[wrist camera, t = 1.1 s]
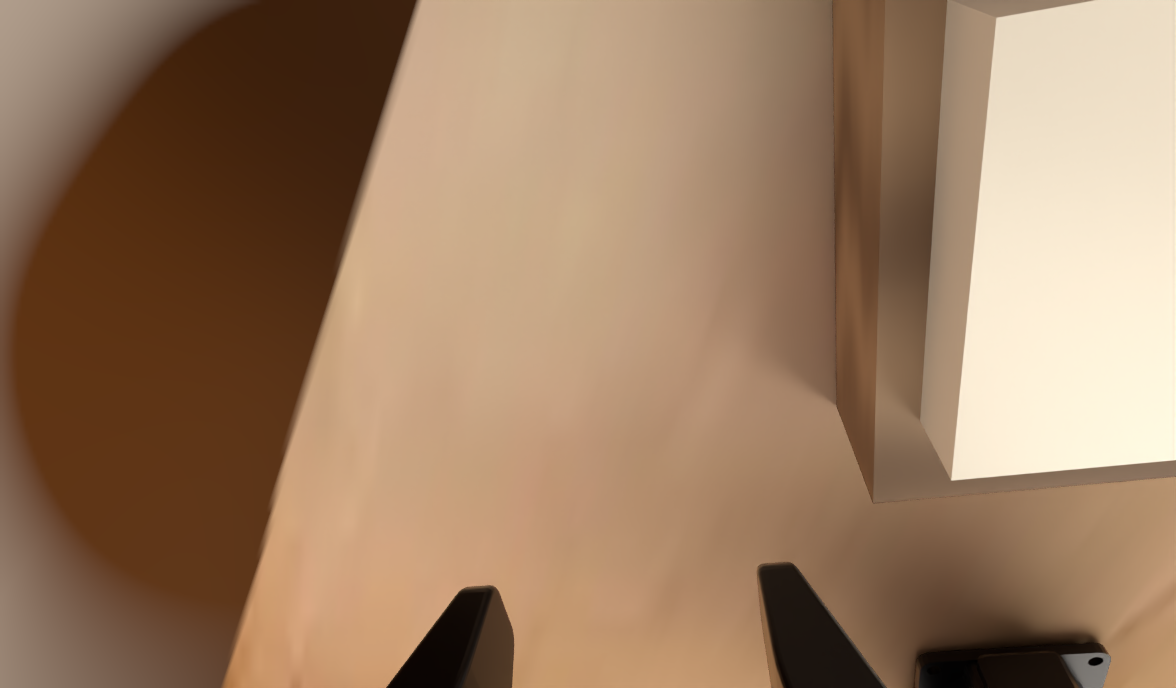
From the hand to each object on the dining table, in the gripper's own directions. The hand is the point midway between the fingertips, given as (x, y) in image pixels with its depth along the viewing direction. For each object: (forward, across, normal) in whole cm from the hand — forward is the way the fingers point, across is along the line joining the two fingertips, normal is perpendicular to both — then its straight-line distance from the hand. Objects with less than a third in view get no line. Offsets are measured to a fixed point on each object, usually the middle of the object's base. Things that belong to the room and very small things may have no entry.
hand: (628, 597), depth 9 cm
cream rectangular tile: (+8, -9, 0) cm, 12 cm away
